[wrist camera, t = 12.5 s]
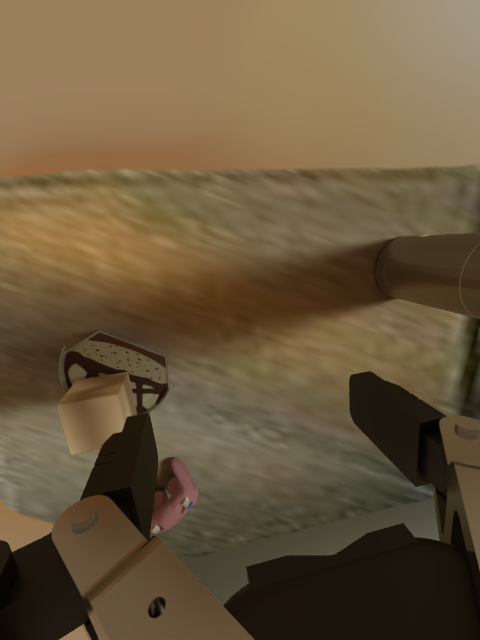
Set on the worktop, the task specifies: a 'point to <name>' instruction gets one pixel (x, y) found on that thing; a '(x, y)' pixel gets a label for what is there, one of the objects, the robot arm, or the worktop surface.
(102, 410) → the birch cube
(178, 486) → the pink toy figure
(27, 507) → the worktop surface
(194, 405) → the worktop surface
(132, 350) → the food container
